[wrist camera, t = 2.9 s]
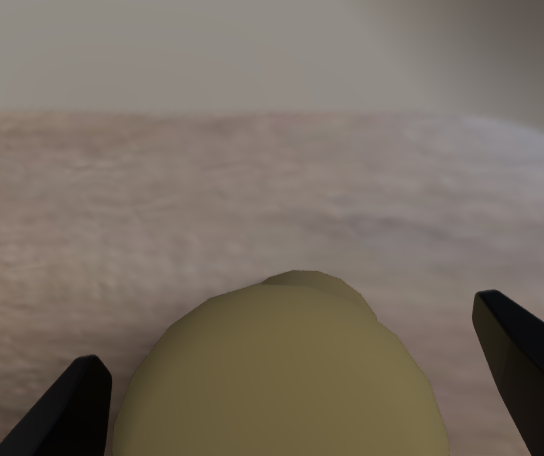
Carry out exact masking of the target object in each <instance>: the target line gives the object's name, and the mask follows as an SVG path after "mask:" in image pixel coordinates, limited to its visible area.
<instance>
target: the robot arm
mask: <svg viewBox="0 0 544 456" xmlns="http://www.w3.org/2000/svg"><path fill="white" fill-rule="evenodd" d="M472 321H473V325H474V328H475V331H476V334H477V336H478V339H479V341H480V344H481V347H482V349H483V352H484V355H485V357H486V360H487V362H488V365H489V368H490V370H491V373H492V376H493V378H494V381H495V383H496V386H497V388H498V391H499V393H500V395H501V397H502V399H503V401H504V403H505V405H506V407H507V409H508V411H509V413H510V415H511V417H512V419H513V421H514V423H515V425H516V427H517V428H518V430H519V432H520V434H521V436H522V438H523V440H524V442H525V444H526V446H527V448H528V450H529V452H530V454H531V456H544V322H543V321H542V320H540V319H539V318H537V317H536V316H534V315H533V314H532V313H530V312H529V311H527V310H526V309H524V308H523V307H521V306H520V305H519V304H517V303H516V302H514V301H513V300H511V299H510V298H508V297H507V296H505V295H504V294H503V293H501V292H500V291H498V290H494V289H492V290H486V291H479V292H477V293H476V294H475V297H474V305H473V313H472ZM111 390H112V376H111V374H110V372H109V370H108V369H107V368H106V366H105V365H104V364H103V363H102V361H101V360H100V359H99V357H98V356H96V355H86V356H80V357H78V358H76V359H75V360H74V361H73V362H72V363H71V365H70V366H69V367H68V368H67V369H66V370H65V371H64V372H63V374H62V375H61V376H60V377H59V378H58V379H57V380H56V381H55V383H54V384H53V385H52V386H51V387H50V388H49V389H48V390H47V391H46V393H45V394H44V395H43V396H42V397H41V398H40V399H39V400H38V402H37V403H36V404H35V405H34V406H33V407H32V408H31V409H30V410H29V412H28V413H27V414H26V415H25V416H24V417H23V418H22V419H21V421H20V422H19V423H18V424H17V425H16V426H15V427H14V428H13V430H12V431H11V432H10V433H9V434H8V435H7V436H6V437H5V438H4V440H3V441H2V442H1V443H0V456H104V451H105V446H106V438H107V429H108V419H109V410H110V400H111Z"/></svg>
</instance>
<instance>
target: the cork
mask: <svg viewBox="0 0 544 456" xmlns="http://www.w3.org/2000/svg"><path fill="white" fill-rule="evenodd" d="M112 456H450V450H449V442H448V435H447V432H446V429H445V426H444V423H443V420H442V417H441V414H440V411H439V408H438V405H437V402H436V399H435V396H434V393H433V390H432V387H431V384H430V381H429V380H428V378H427V377H426V376H425V374H424V373H423V371H422V370H421V369H420V367H419V366H418V364H417V363H416V362H415V360H414V359H413V357H412V356H411V355H410V353H409V352H408V350H407V349H406V348H405V346H404V345H403V344H402V342H401V341H400V339H399V338H398V337H397V335H395V334H394V333H393V332H391V331H390V330H389V329H387V328H386V327H385V326H383V325H382V324H381V323H380V322H378V320H377V317H376V315H375V313H374V312H373V311H372V309H371V308H370V306H369V305H368V304H367V302H366V301H365V299H364V298H363V297H362V295H361V294H360V293H358V292H357V291H356V290H354V289H353V288H352V287H350V286H349V285H348V284H346V283H345V282H344V281H342V280H341V279H339V278H336V277H333V276H330V275H327V274H324V273H322V272H319V271H296V270H293V271H289V272H286V273H283V274H279V275H276V276H273V277H270V278H268V279H267V280H265V281H264V282H263V283H261V284H256V285H253V286H249V287H246V288H243V289H239V290H236V291H233V292H229V293H226V294H223V295H219V296H216V297H213V298H210V299H208V300H207V301H205V302H204V303H202V304H201V305H200V306H198V307H197V308H195V309H194V310H192V311H191V312H190V313H188V314H187V315H185V316H184V317H182V318H181V319H180V320H178V321H177V322H175V323H174V324H172V325H171V326H170V327H169V328H168V329H167V331H166V332H165V333H164V335H163V336H162V337H161V339H160V340H159V341H158V343H157V344H156V345H155V347H154V348H153V349H152V350H151V352H150V353H149V354H148V356H147V357H146V358H145V360H144V361H143V362H142V364H141V365H140V366H139V368H138V369H137V371H136V372H135V373H134V375H133V376H132V378H131V381H130V384H129V386H128V389H127V392H126V394H125V397H124V400H123V403H122V405H121V408H120V411H119V413H118V416H117V419H116V422H115V424H114V430H113V445H112Z"/></svg>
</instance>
